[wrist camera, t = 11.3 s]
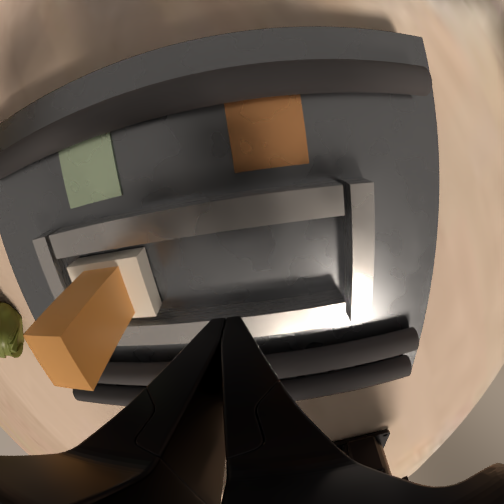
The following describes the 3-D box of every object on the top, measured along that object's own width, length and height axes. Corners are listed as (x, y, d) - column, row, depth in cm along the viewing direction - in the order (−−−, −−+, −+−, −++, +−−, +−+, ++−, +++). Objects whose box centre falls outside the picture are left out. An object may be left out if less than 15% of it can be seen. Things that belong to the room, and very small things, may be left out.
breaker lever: (162, 303, 14) (120, 399, 8) (96, 308, 14) (42, 388, 8) (144, 246, 12) (79, 328, 7) (77, 258, 13) (4, 327, 7)
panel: (399, 356, 18) (416, 386, 15) (93, 383, 19) (79, 411, 16) (403, 46, 10) (435, 31, 7) (1, 134, 12) (-33, 140, 9)
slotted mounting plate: (412, 68, 9) (428, 63, 8) (400, 365, 16) (408, 380, 14) (-8, 160, 10) (-24, 164, 9) (86, 391, 17) (79, 404, 16)
